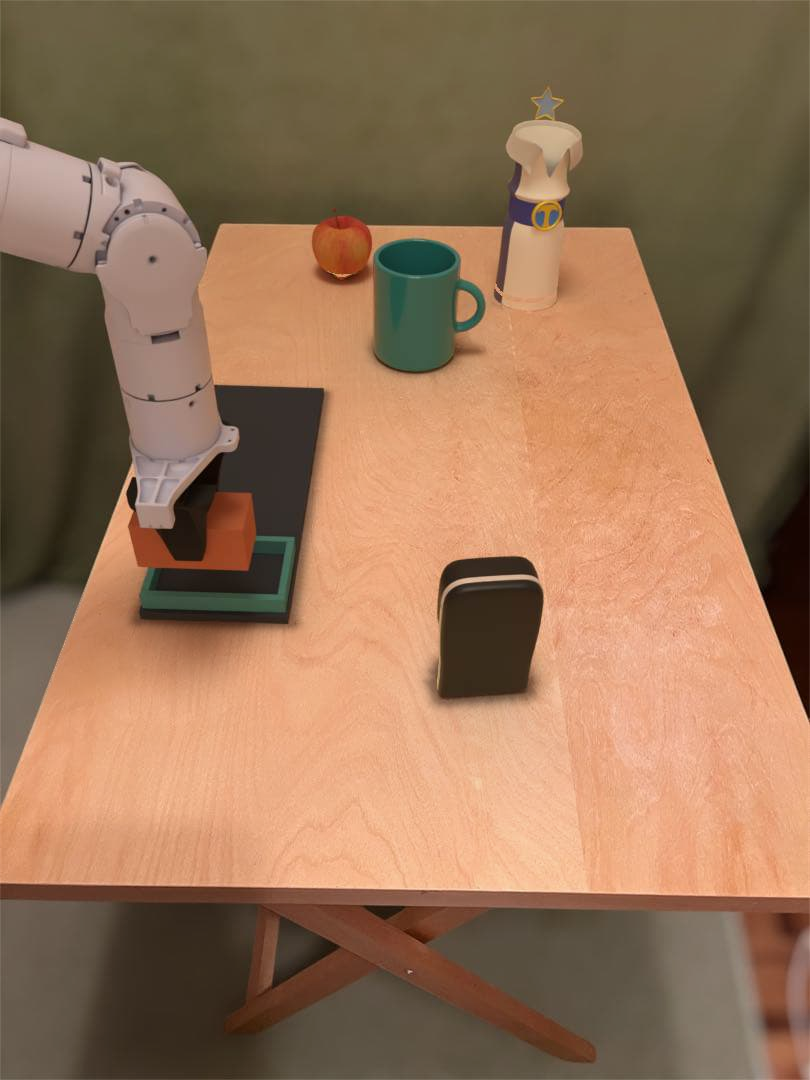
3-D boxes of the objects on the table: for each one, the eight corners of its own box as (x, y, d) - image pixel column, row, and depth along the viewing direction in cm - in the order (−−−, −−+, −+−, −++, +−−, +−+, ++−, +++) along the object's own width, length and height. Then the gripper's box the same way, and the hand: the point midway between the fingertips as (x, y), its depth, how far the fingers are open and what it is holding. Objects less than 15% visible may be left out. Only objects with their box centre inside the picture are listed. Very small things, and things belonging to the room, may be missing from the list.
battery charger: (520, 653, 70) (538, 544, 62) (530, 693, 67) (550, 584, 59) (429, 659, 69) (436, 550, 61) (436, 700, 66) (444, 591, 59)
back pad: (288, 623, 71) (286, 603, 70) (140, 619, 71) (135, 599, 70) (324, 394, 95) (323, 375, 93) (212, 390, 95) (209, 371, 93)
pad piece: (248, 571, 66) (242, 530, 63) (137, 567, 66) (127, 526, 63) (256, 533, 69) (251, 492, 66) (150, 530, 69) (141, 489, 66)
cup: (480, 378, 98) (489, 281, 90) (369, 371, 98) (368, 274, 91) (481, 335, 104) (490, 241, 97) (377, 329, 105) (377, 235, 97)
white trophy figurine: (572, 309, 109) (609, 85, 92) (504, 315, 108) (528, 89, 91) (549, 277, 115) (579, 61, 98) (484, 283, 114) (503, 65, 97)
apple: (337, 294, 111) (335, 231, 105) (301, 272, 115) (298, 210, 109) (384, 277, 114) (384, 214, 109) (347, 256, 118) (346, 195, 113)
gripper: (208, 448, 52) (234, 611, 61) (247, 319, 62) (264, 475, 71) (84, 444, 52) (128, 608, 61) (144, 316, 62) (174, 472, 72)
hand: (195, 536), depth 66 cm, fingers closed on pad piece, 4 cm apart
